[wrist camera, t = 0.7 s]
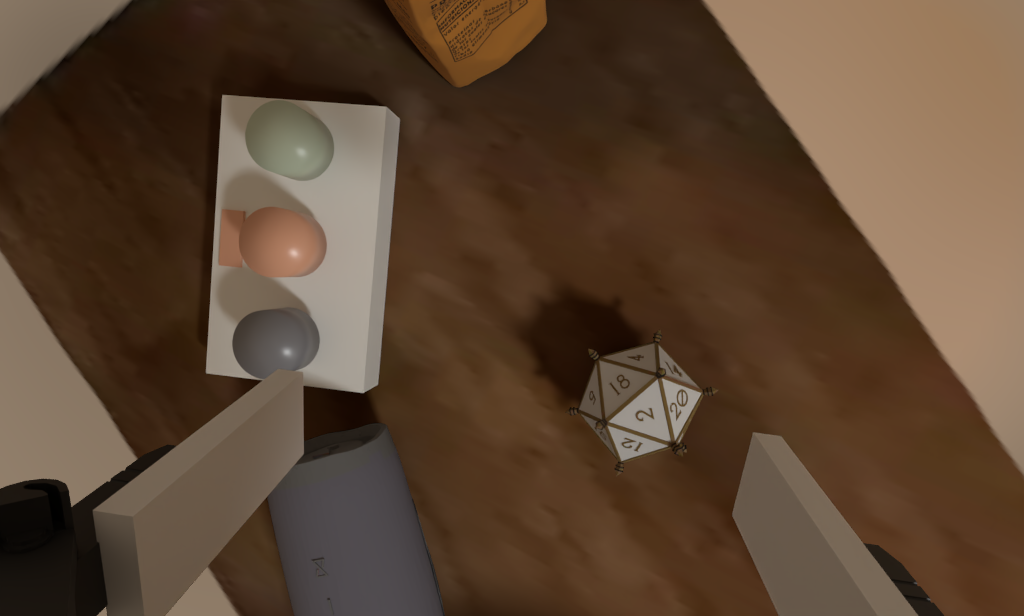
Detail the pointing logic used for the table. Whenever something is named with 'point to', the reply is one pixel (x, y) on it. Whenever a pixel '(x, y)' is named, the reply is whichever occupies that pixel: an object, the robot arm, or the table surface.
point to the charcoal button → (275, 341)
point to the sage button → (289, 141)
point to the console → (349, 234)
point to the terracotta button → (282, 243)
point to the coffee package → (469, 32)
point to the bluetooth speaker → (352, 530)
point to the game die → (639, 401)
